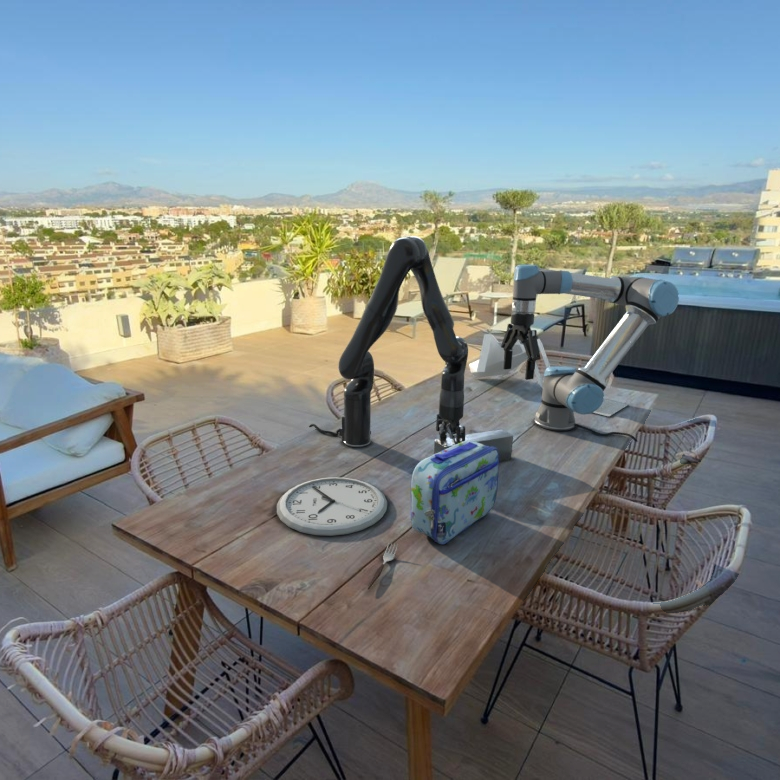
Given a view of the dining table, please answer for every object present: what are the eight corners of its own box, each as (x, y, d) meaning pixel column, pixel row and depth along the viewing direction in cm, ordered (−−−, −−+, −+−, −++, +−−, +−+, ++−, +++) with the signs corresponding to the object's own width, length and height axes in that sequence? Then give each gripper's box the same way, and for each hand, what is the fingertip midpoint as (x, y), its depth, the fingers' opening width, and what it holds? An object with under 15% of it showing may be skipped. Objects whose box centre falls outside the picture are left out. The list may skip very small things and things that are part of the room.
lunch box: (436, 553, 122) (441, 472, 116) (403, 535, 129) (406, 457, 123) (500, 514, 140) (507, 441, 133) (468, 499, 147) (473, 430, 141)
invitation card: (608, 416, 214) (573, 407, 224) (608, 416, 214) (573, 408, 224) (628, 404, 229) (594, 396, 238) (628, 405, 229) (594, 397, 238)
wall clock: (392, 527, 129) (268, 531, 127) (391, 533, 130) (269, 537, 127) (383, 473, 158) (282, 475, 155) (383, 478, 158) (282, 480, 156)
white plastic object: (490, 419, 265) (470, 397, 240) (471, 347, 287) (451, 319, 262) (561, 395, 253) (548, 369, 228) (536, 321, 275) (521, 290, 250)
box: (500, 452, 179) (502, 429, 176) (511, 459, 173) (513, 435, 171) (433, 464, 169) (434, 439, 166) (442, 472, 163) (444, 447, 161)
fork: (362, 589, 110) (362, 581, 109) (388, 548, 124) (388, 541, 123) (373, 592, 109) (373, 584, 108) (398, 550, 123) (399, 543, 122)
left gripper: (430, 397, 166) (428, 444, 170) (452, 410, 153) (449, 461, 158) (450, 394, 169) (448, 441, 173) (474, 407, 156) (471, 457, 161)
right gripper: (493, 307, 184) (489, 365, 190) (535, 319, 161) (529, 384, 168) (512, 306, 186) (507, 364, 193) (555, 317, 164) (549, 382, 170)
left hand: (449, 450), depth 166 cm, fingers open, 8 cm apart
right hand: (517, 374), depth 180 cm, fingers open, 13 cm apart
